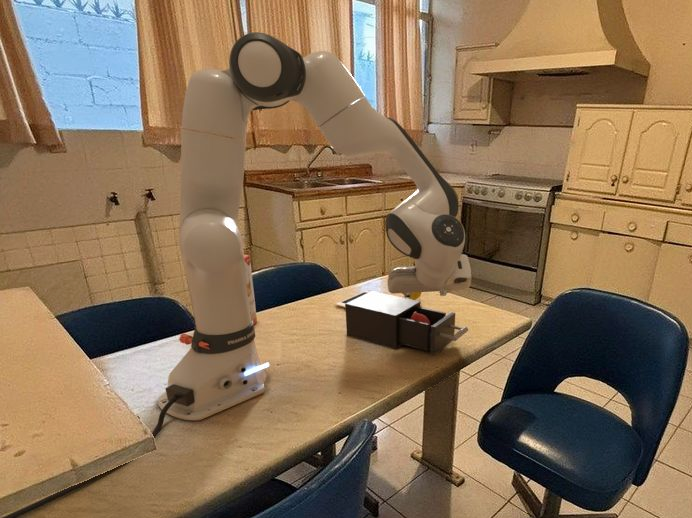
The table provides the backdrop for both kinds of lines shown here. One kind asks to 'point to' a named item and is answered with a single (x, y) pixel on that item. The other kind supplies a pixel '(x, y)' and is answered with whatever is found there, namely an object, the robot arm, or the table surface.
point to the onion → (420, 318)
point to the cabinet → (377, 317)
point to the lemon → (415, 295)
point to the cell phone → (350, 299)
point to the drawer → (422, 336)
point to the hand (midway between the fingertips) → (424, 294)
